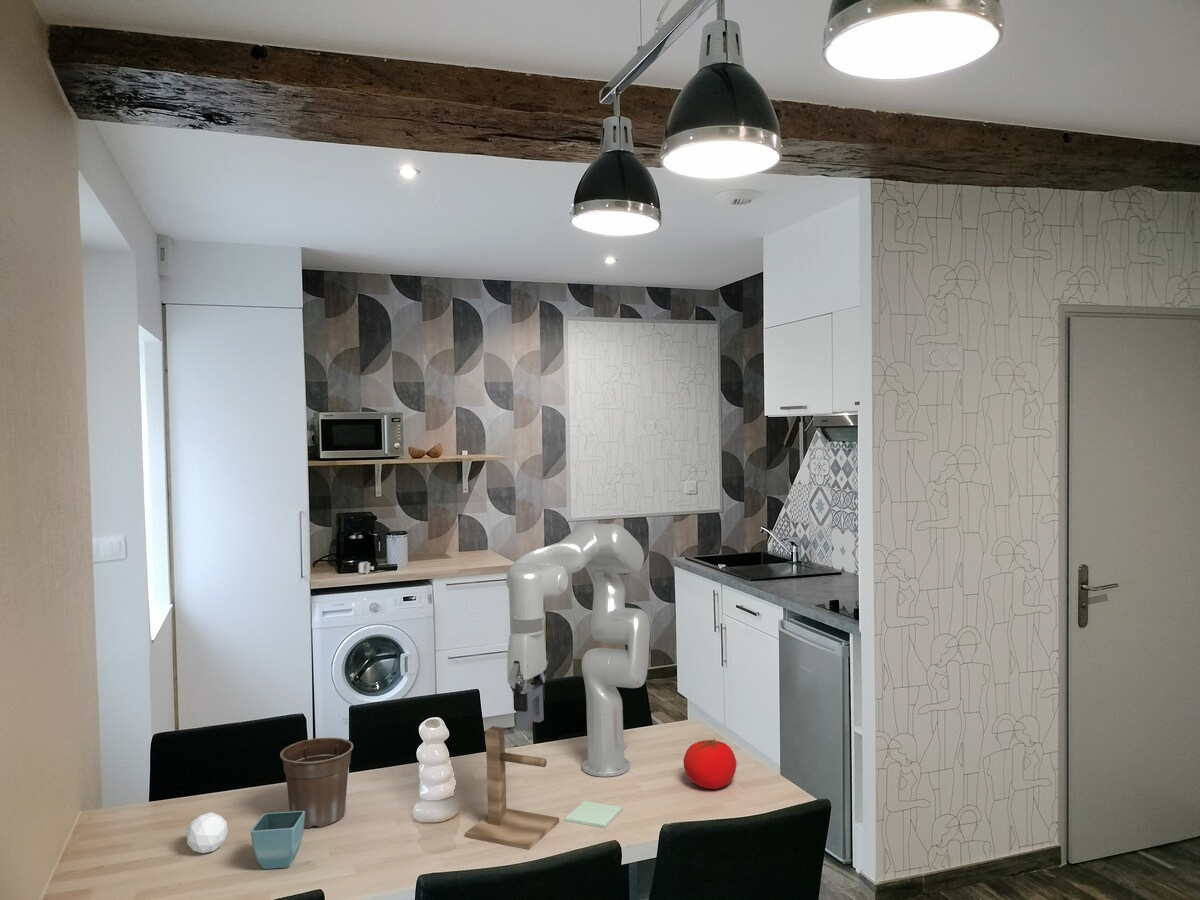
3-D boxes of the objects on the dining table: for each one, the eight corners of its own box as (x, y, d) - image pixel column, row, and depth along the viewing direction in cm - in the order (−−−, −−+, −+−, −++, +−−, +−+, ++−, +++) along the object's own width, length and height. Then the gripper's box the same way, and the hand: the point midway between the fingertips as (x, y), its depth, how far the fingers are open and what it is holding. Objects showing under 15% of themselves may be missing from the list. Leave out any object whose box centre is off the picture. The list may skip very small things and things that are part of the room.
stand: (498, 811, 196) (496, 717, 196) (561, 822, 189) (558, 725, 189) (465, 837, 183) (462, 737, 183) (531, 850, 176) (528, 746, 176)
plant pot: (369, 809, 199) (367, 741, 199) (320, 838, 184) (318, 765, 184) (317, 798, 206) (315, 733, 206) (266, 826, 191) (264, 756, 191)
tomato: (746, 786, 206) (745, 741, 206) (706, 799, 199) (705, 753, 199) (714, 771, 216) (713, 729, 216) (675, 784, 209) (674, 740, 209)
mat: (584, 803, 199) (584, 800, 199) (622, 809, 195) (622, 807, 195) (565, 820, 190) (565, 818, 190) (605, 828, 186) (605, 825, 186)
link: (531, 718, 188) (530, 683, 188) (543, 719, 187) (542, 685, 187) (516, 728, 182) (515, 692, 182) (528, 729, 180) (527, 693, 180)
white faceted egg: (192, 849, 173) (162, 842, 180) (224, 859, 178) (194, 852, 185) (210, 810, 177) (181, 804, 184) (241, 821, 183) (211, 815, 189)
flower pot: (264, 854, 178) (263, 812, 178) (306, 851, 178) (305, 809, 178) (250, 875, 169) (249, 831, 169) (295, 872, 170) (294, 828, 170)
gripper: (531, 616, 194) (533, 692, 194) (491, 632, 178) (494, 716, 178) (560, 618, 191) (562, 696, 191) (522, 635, 175) (524, 719, 175)
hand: (529, 705), depth 184 cm, fingers closed on link, 7 cm apart
